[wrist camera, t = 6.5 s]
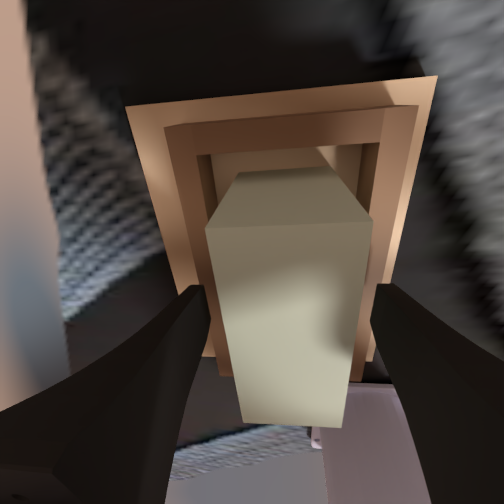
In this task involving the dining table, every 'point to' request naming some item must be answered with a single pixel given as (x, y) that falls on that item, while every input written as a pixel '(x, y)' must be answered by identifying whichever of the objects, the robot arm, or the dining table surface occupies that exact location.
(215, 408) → the dining table surface
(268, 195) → the beige block
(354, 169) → the slot board
